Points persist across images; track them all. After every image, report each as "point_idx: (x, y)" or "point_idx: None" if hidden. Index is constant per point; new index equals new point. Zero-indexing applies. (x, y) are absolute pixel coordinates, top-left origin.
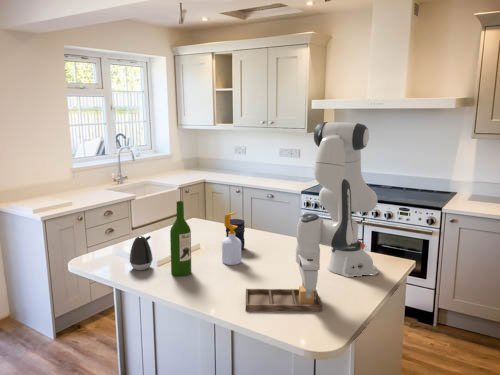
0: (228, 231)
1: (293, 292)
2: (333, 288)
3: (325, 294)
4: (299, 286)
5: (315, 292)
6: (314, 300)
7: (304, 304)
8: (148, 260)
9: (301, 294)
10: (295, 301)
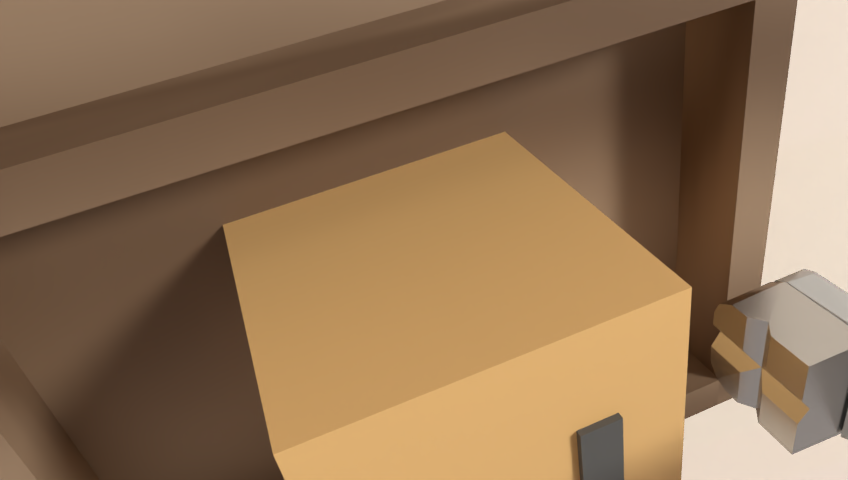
0: None
1: (625, 21)
2: (827, 448)
3: (686, 428)
4: (650, 306)
5: None
6: None
7: (226, 306)
8: None
9: (261, 398)
10: (70, 186)
